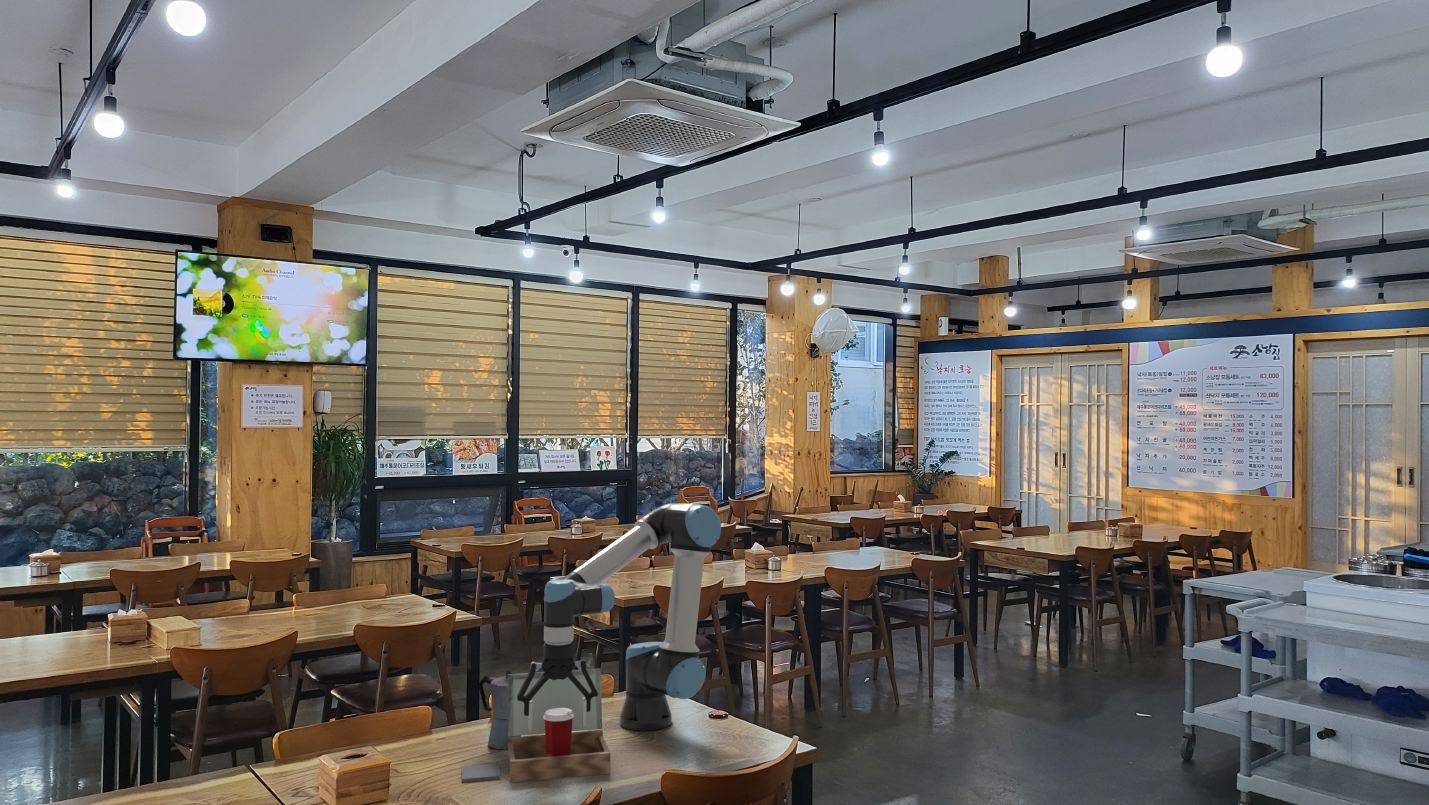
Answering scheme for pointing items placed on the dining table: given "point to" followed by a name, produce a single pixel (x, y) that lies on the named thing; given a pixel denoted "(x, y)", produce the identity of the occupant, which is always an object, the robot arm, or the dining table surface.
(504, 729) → the moka pot
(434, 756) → the dining table surface
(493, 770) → the plate
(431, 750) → the dining table surface
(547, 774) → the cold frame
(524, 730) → the lid
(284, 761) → the dining table surface
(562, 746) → the paper cup
